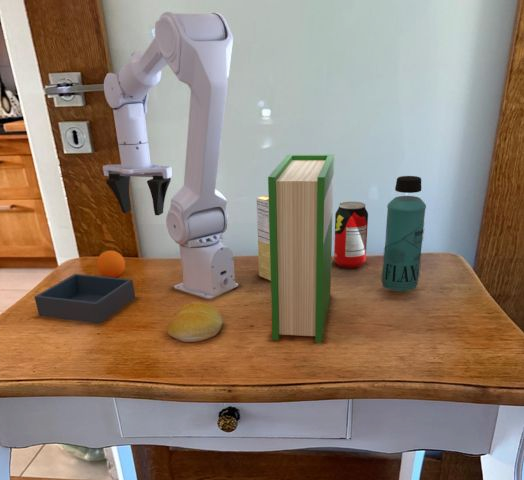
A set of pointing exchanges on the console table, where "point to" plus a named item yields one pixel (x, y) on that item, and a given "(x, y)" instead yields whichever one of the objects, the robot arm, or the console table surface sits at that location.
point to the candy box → (263, 237)
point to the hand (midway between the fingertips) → (142, 213)
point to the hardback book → (301, 244)
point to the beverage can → (350, 234)
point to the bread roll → (195, 322)
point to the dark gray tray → (85, 298)
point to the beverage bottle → (403, 237)
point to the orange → (110, 264)
